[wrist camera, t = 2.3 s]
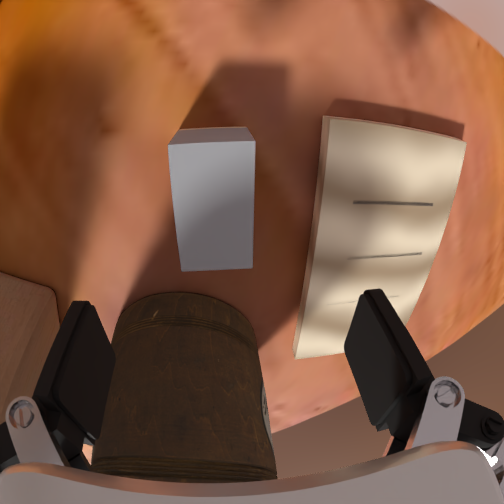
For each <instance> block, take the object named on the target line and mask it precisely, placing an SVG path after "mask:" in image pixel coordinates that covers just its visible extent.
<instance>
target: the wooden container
mask: <svg viewBox="0 0 504 504" xmlns="http://www.w3.org/2000/svg"><path fill="white" fill-rule="evenodd" d="M111 346H112V348H113V350H114V353H115V356H116V363H115V367H114V371H113V375H112V379H111V384H110V388H109V393H108V397H107V402H106V407H105V412H104V417H103V422H102V428H101V433H100V437H99V439H96V441H95V446H93V450H92V460H91V464H92V465H91V467H92V469H93V470H94V472H95V473H100V474H106V475H112V476H119V477H125V478H133V479H141V480H150V481H161V482H176V483H238V482H254V481H265V480H274V479H277V476H276V475H277V471H276V464H275V457H274V450H273V443H272V436H271V430H270V423H269V414H268V407H267V401H266V394H265V388H264V383H263V377H262V372H261V366H260V361H259V355H258V349H257V343H256V338H255V334H254V331H253V328H252V326H251V325H250V323H249V322H248V320H247V319H246V318H245V317H244V316H243V315H242V314H241V313H240V312H239V311H237V310H236V309H234V308H233V307H231V306H230V305H228V304H226V303H224V302H222V301H220V300H217V299H215V298H212V297H208V296H204V295H199V294H193V293H183V292H178V293H163V294H156V295H152V296H148V297H146V298H143V299H141V300H139V301H137V302H135V303H133V304H132V305H130V306H129V307H128V308H127V309H126V310H125V311H124V312H123V313H122V314H121V316H120V317H119V319H118V321H117V324H116V327H115V330H114V334H113V338H112V342H111Z"/></svg>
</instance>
